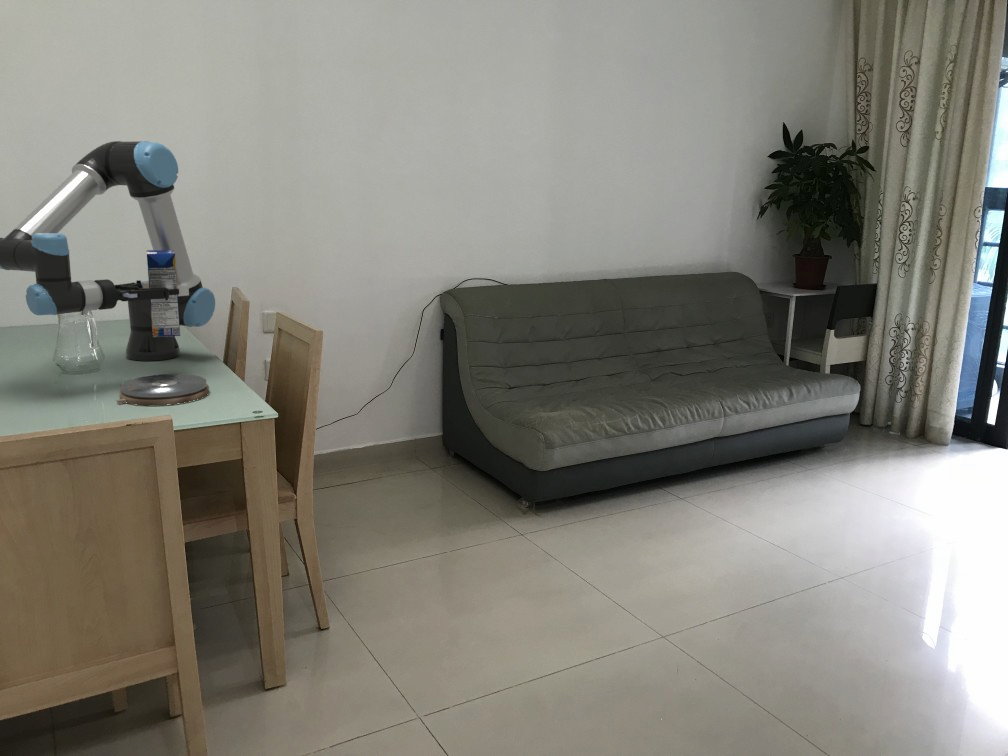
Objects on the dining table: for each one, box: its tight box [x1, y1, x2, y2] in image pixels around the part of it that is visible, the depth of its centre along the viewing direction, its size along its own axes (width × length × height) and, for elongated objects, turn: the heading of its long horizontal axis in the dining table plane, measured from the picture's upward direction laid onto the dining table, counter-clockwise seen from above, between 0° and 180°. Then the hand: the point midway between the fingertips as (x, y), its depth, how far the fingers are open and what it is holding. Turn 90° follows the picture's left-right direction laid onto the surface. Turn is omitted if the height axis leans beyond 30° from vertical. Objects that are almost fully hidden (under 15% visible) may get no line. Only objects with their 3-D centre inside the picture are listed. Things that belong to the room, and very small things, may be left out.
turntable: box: [120, 373, 208, 399], centre depth 205 cm, size 20×20×2 cm
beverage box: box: [146, 249, 181, 337], centre depth 219 cm, size 7×11×22 cm, turn 23°
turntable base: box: [116, 384, 210, 406], centre depth 205 cm, size 23×21×2 cm
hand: (176, 288), depth 222 cm, fingers closed on beverage box, 10 cm apart
